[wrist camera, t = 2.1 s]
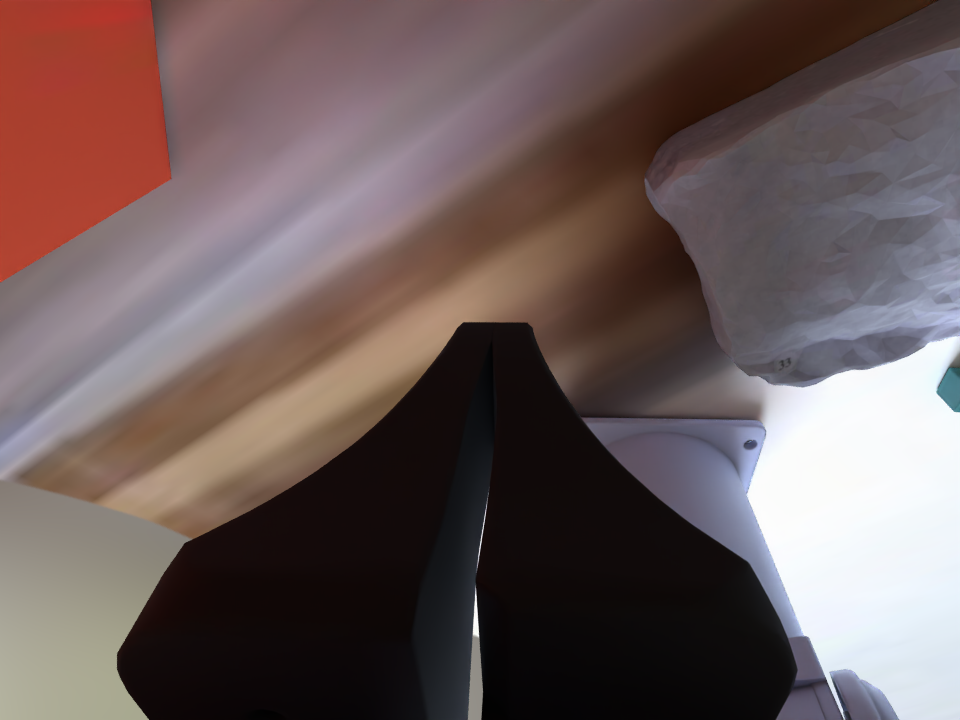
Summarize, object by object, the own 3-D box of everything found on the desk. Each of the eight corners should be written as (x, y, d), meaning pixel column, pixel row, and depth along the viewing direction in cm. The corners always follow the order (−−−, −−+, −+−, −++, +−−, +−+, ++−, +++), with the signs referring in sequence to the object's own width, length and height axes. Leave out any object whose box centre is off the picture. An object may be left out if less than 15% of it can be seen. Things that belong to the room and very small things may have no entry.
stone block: (1060, 203, 19) (1110, -132, 13) (1182, 294, 16) (1323, -97, 10) (705, 334, 24) (618, 128, 18) (743, 428, 20) (651, 213, 14)
